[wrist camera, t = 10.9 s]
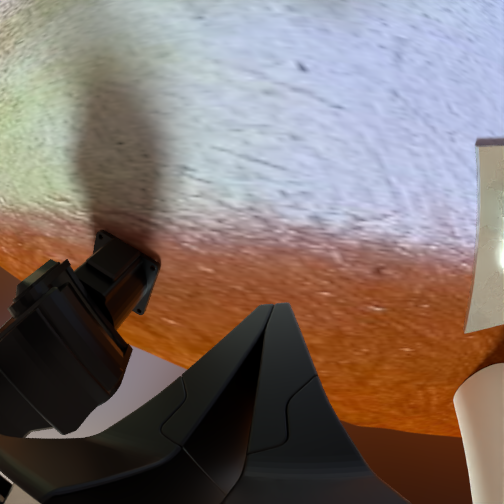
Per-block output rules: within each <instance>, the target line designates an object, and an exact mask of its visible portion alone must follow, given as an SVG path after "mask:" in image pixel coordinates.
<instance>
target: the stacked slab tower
mask: <svg viewBox="0 0 504 504" xmlns="http://www.w3.org/2000/svg"><path fill="white" fill-rule="evenodd" d="M475 153H476V170H477V222H476V240H475V253H474V263H473V272H472V279H471V287H470V293H469V300H468V305H467V311H466V316H465V321H464V326H463V331H464V333H469V332H473V331H478V330H482V329H486V328H490V327H494V326H498V325H502V324H504V145H481V146H475Z"/></svg>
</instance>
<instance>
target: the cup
mask: <svg viewBox="0 0 504 504" xmlns="http://www.w3.org/2000/svg"><path fill="white" fill-rule="evenodd" d="M453 402H454V406H455V410H456V414H457V418H458V422H459V426H460V430H461V435H462V439H463V444H464V449H465V454H466V459H467V465H468V471H469V477H470V485H471V492H472V500H473V504H504V363H498V364H493V365H490V366H488V367H485V368H483V369H481V370H480V371H478V372H476V373H475V374H473V375H472V376H471V377H469V378H468V379H467V380H466V381H465V382H464V383H463V384H462V385H461V386H460V387H459V388H458V390H457V391H456V393H455V395H454V399H453Z"/></svg>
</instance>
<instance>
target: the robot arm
mask: <svg viewBox="0 0 504 504" xmlns="http://www.w3.org/2000/svg"><path fill="white" fill-rule="evenodd" d="M101 235H102V236H103V237H102V236H101ZM70 265H71V264H70V263H69V261H68V259H66V260H65V261H63V262H62V263H61V264H60V262H55V261H53V260H51V259H50V260H49V261H48V262H46V263H45V264H44V265H43V266H41V267H40V268H39V269H37V270H36V271H35V272H34V273H32V274H31V275H30V276H28V277H27V278H26V279H24V280H23V281H22V282H21V283H20V284H18V285H17V291H16V297H15V298H14V299H13V303H12V304H11V305H10V306H9V308H8V310H9V312H10V313H11V315H12V317H11V318H10V319H9V320H8V321H7V322H6V323H5V324H4V325H3V326H2V327H1V328H0V471H1V472H2V473H3V474H4V475H5V476H7V477H8V478H9V479H10V480H11V481H12V482H13V484H11V483H10V482H9V481H7V480H6V479H5V478H4V477H2V476H1V475H0V504H411V503H410V502H409V501H408V500H406V499H405V498H404V497H403V496H401V495H400V494H399V493H397V492H396V491H395V490H394V489H393V488H392V487H390V486H389V485H388V484H387V483H385V482H384V481H383V480H382V479H381V478H379V477H378V476H377V475H376V474H375V473H374V471H373V470H372V469H371V468H370V467H369V465H368V464H367V462H366V461H365V460H364V458H363V457H362V455H361V454H360V452H359V451H358V449H357V447H356V446H355V444H354V443H353V441H352V440H351V438H350V436H349V435H348V433H347V432H346V430H345V428H344V427H343V425H342V424H341V422H340V420H339V419H338V417H337V415H336V413H335V411H334V410H333V408H332V406H331V404H330V402H329V400H328V398H327V396H326V393H325V391H324V389H323V386H322V384H321V381H320V379H319V377H318V374H317V371H316V369H315V366H314V364H313V361H312V359H311V356H310V353H309V351H308V348H307V346H306V343H305V341H304V338H303V336H302V333H301V331H300V328H299V325H298V323H297V320H296V318H295V315H294V313H293V310H292V308H291V305H290V303H277V304H275V305H274V304H264V305H260V306H258V307H257V308H256V309H255V310H254V311H253V312H252V313H251V314H250V315H248V316H247V317H246V318H245V319H244V320H243V321H242V322H241V323H240V324H239V325H237V326H236V327H235V328H234V329H233V330H232V331H231V332H230V333H229V334H227V335H226V336H225V337H224V338H223V339H222V340H221V341H220V342H219V343H217V344H216V345H215V346H214V347H213V348H212V349H211V350H210V351H208V352H207V353H206V354H205V355H204V356H203V357H202V358H200V359H199V360H198V361H197V362H196V363H195V364H194V365H192V366H191V367H190V368H189V369H188V370H187V371H185V372H184V373H183V374H182V377H181V376H180V377H178V378H177V379H176V380H175V381H174V382H173V383H171V384H170V385H169V386H168V387H166V388H165V389H164V390H163V391H161V393H159V394H158V395H156V396H155V397H154V398H152V399H151V400H149V401H148V402H147V403H145V404H144V405H143V406H141V407H140V408H138V409H137V410H135V411H134V412H132V413H131V414H129V415H128V416H126V417H125V418H123V419H122V420H120V421H119V422H117V423H116V424H114V425H112V426H111V427H109V428H108V429H106V430H104V431H103V432H101V433H99V434H96V435H93V436H90V437H85V438H68V439H67V438H66V439H41V438H40V439H39V438H25V437H26V436H27V435H28V434H30V433H31V432H33V431H40V430H46V429H52V428H55V429H56V430H57V431H58V432H59V433H60V434H62V435H66V434H68V433H71V432H74V431H76V430H77V429H78V428H79V427H80V425H81V424H82V423H83V422H84V420H85V419H86V418H87V417H88V415H89V414H90V413H91V412H92V411H93V410H94V409H95V408H96V407H97V406H99V405H101V404H103V403H105V402H106V401H107V400H109V399H110V398H111V397H112V396H113V395H114V394H115V392H116V391H117V389H118V388H119V387H120V385H121V382H122V380H123V377H124V374H125V371H126V367H127V365H128V362H129V359H130V356H131V353H132V350H133V349H132V348H131V346H130V345H129V344H127V343H126V342H125V341H124V339H123V338H122V337H121V336H120V334H119V333H118V332H117V331H116V330H117V329H118V328H119V327H120V325H121V324H122V323H123V322H124V320H125V319H126V318H127V316H128V315H129V314H130V313H131V311H134V312H135V313H137V314H139V315H143V314H144V312H145V311H146V308H147V305H148V302H149V299H150V296H151V293H152V290H153V287H154V284H155V281H156V279H157V276H158V273H159V270H160V265H159V263H158V262H157V261H155V260H153V259H152V258H150V257H148V256H146V255H145V254H143V253H141V252H139V251H138V250H136V249H134V248H133V247H131V246H129V245H128V244H126V243H124V242H123V241H121V240H119V239H118V238H116V237H114V236H113V235H111V234H109V233H108V232H106V231H104V230H100V231H99V232H98V233H97V234H96V240H95V245H94V251H93V255H92V256H90V257H89V258H88V259H87V260H86V261H85V262H84V263H83V264H82V265H81V266H79V267H78V268H77V269H76V270H75V271H73V269H72V268H71V266H70ZM153 266H154V267H155V268H156V269H155V268H153Z"/></svg>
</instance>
